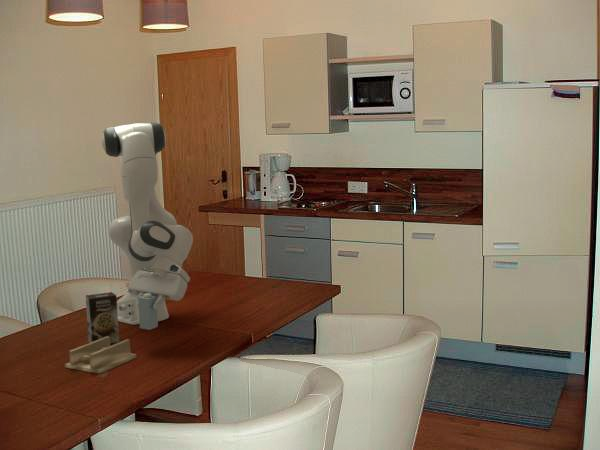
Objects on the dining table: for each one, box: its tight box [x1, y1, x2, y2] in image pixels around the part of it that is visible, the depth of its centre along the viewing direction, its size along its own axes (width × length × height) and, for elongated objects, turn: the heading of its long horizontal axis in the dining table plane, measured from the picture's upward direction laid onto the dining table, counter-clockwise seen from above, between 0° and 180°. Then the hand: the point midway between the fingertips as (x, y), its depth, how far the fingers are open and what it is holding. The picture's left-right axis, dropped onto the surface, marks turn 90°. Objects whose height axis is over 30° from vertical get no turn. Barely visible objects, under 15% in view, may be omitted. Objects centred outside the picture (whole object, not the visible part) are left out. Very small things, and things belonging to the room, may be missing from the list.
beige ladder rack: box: [64, 336, 137, 374], centre depth 229 cm, size 14×16×5 cm
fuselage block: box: [138, 293, 159, 331], centre depth 237 cm, size 4×4×11 cm
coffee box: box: [85, 291, 120, 345], centre depth 249 cm, size 9×6×16 cm
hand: (146, 307), depth 237 cm, fingers closed on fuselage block, 4 cm apart
